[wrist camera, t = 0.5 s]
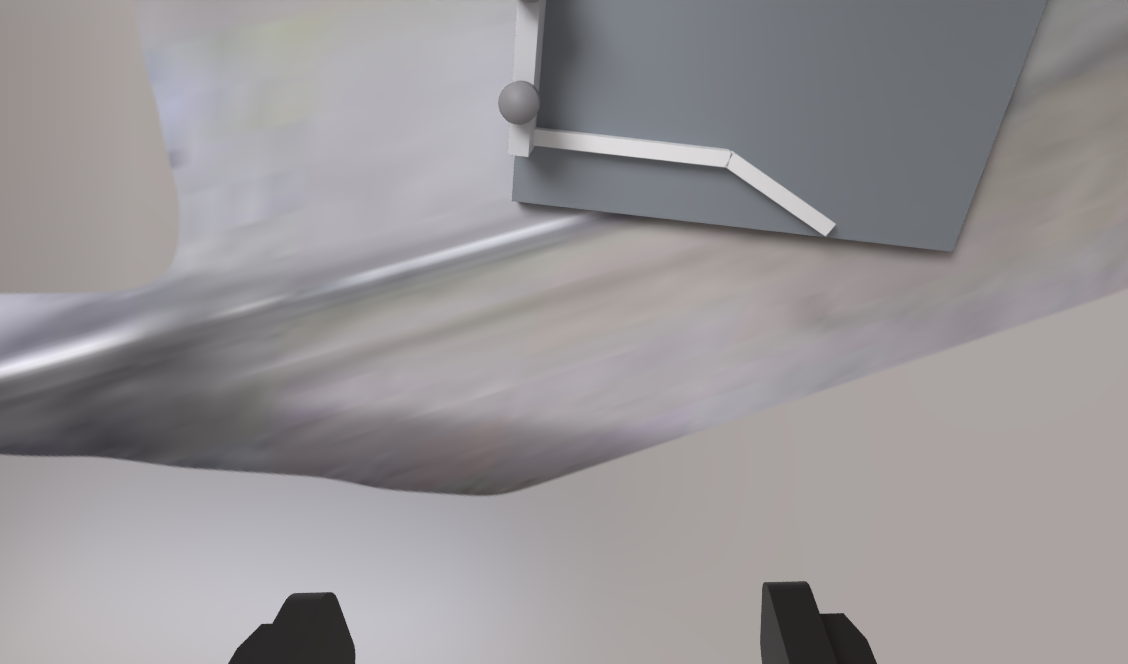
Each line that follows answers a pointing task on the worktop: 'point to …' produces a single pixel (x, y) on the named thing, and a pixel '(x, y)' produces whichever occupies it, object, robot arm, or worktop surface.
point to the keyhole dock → (766, 110)
